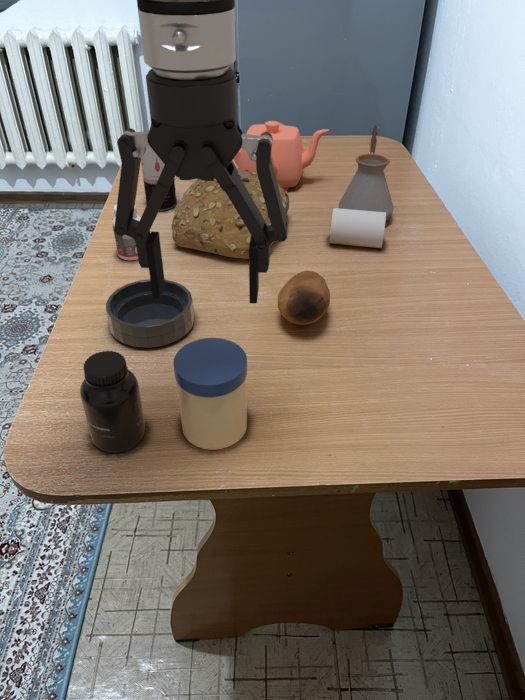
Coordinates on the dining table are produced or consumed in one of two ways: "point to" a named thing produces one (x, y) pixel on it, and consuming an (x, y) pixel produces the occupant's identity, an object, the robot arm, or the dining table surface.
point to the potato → (304, 298)
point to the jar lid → (210, 367)
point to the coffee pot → (369, 183)
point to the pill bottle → (126, 241)
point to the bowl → (150, 314)
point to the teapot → (282, 152)
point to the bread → (218, 217)
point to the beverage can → (155, 178)
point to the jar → (214, 418)
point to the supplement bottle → (112, 402)
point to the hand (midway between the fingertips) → (206, 294)
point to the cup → (357, 227)
